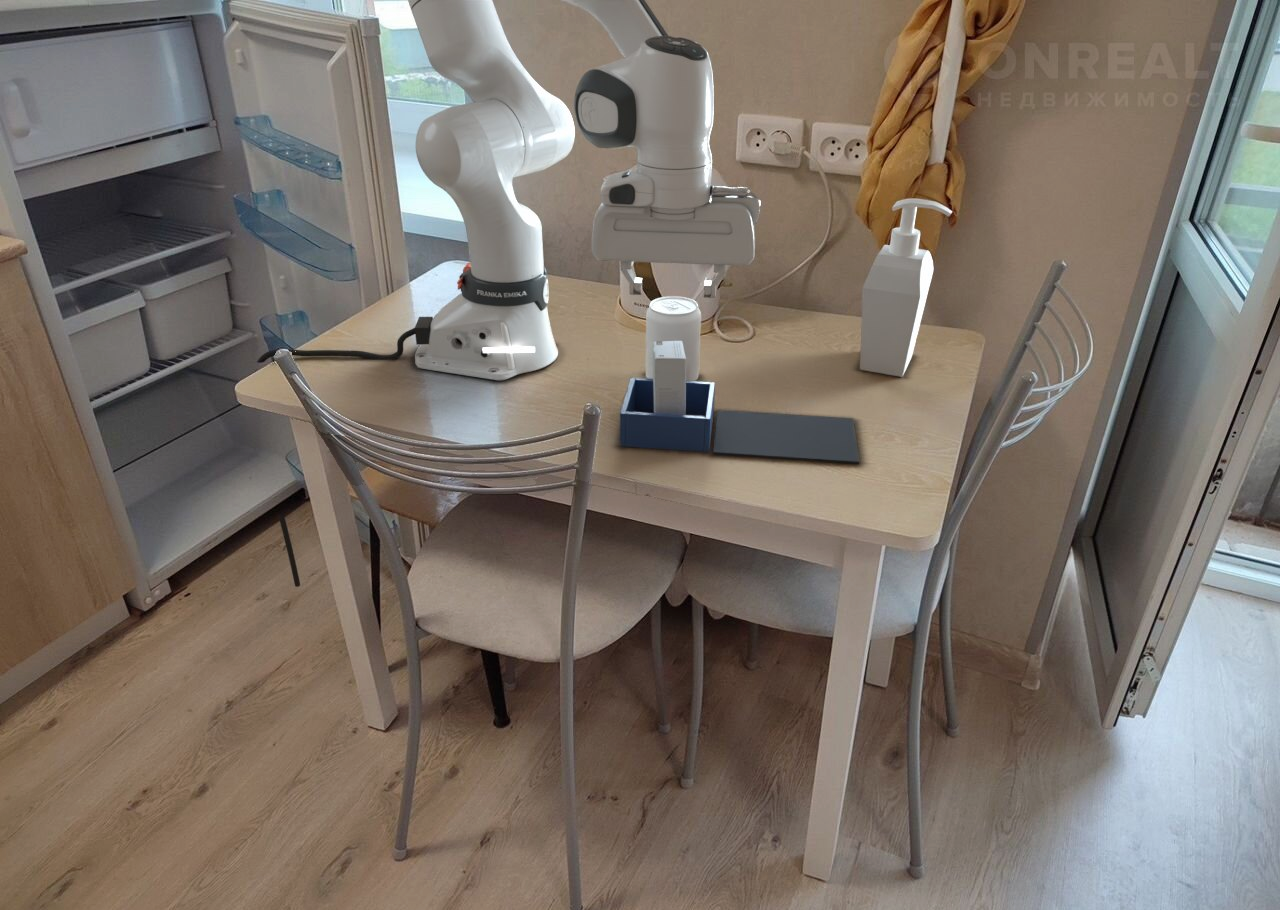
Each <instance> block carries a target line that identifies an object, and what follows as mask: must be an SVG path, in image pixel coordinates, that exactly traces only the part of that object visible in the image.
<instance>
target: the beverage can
mask: <svg viewBox="0 0 1280 910" xmlns="http://www.w3.org/2000/svg"><path fill="white" fill-rule="evenodd" d="M701 312H702V311H701V309H699V304H698V302H697V301H696V300H694V299H692V298H689V297H685V296H680V295H667V296H661V297H657V298H655V299H653V300H651V301H650V302H649V307H648V308H647V310H646V313H645V378H647V379H653V342H659V341H682V342H683V347H684V352H685V357H686V381H698V379H699V377H700V354H701V353H700V352H701V329H702V328H701V327H702V313H701Z"/></svg>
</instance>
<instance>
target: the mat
mask: <svg viewBox="0 0 1280 910" xmlns="http://www.w3.org/2000/svg"><path fill="white" fill-rule="evenodd" d="M714 431H715V432H714V438H713V439H714V441H713V448H712V449H713V450H712V455H714V456H728V457H729V456H730V457H744V458H760V459H774V460H775V459H776V460H790V461H804V462H805V461H806V462H816V463H817V462H819V463H832V464H833V463H834V464H847V465H848V464H849V465H860V457H859V451H858V449H859V448H858V444H857V437H856V436H857V435H856V430H855V424H854V418H852V417H837V416H836V417H835V416H824V415H823V416H822V415H804V414H790V413H789V414H788V413H772V412H756V411H743V410H725V409H724V410H723V409H717V414H716V423H715V430H714Z"/></svg>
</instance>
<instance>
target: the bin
mask: <svg viewBox="0 0 1280 910" xmlns="http://www.w3.org/2000/svg"><path fill="white" fill-rule="evenodd" d="M715 392H716V382H712V381H711V382H710V381H698V380H696V381H686V415H674V414H658V413H654V391H653V379H647V377H630V380H629V383H628V385H627V389H626V393H625V395H624V399H623V403H622V406H621V409H620V413H619V440H620V441H619V442H620V443H619V446H620V447H627V448H640V449H656V450H670V451H671V450H673V451H688V452H699V453H700V452H702V453H703V452H704V453H710V446H711V440H712V439H711V438H712V432H713V431H712V430H713V421H714V413H715V412H714V411H715V394H716V393H715Z"/></svg>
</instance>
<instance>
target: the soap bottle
mask: <svg viewBox="0 0 1280 910" xmlns="http://www.w3.org/2000/svg"><path fill="white" fill-rule="evenodd" d="M918 208H922V209H932V210H935V211H937V212H940V213H942V214H943V215H945V216H947V217H950V216H951V215H952V213H953V210H951V209H950V208H949V207H947V206H945V205H944V204H942V203H939V202H938V201H934V200H930V199H923V198H916V197H914V198H913V197H911V198H903V199H900V200H897V201H895V203H894V204H893V206H891V210H892V212H895V211H897V210H899V209H900V210H901V215H900V216H901V217H900V221H899V222H900V223H899V226H898V227H894V228H892V229H891V235H890V240H889V241H890V242H889V245H888V244H884V245H883V246H882V247H881V249H880V251H878V253H877V255H876V257H875V259H874V262H873V264H872V266H871V268H870V270H869V272H868V274H867V276H866V279H865V281H864V284H863V286H862V294H861V295H862V296H861V297H862V299H861V326H860V328H861V329H860V351H859V352H860V353H859V354H860V355H859V370H861V371H867V372H871V373H877V374H884V375H888V376H889V375H890V376H894V377H900V378H903V377H904V374H905V372H906V371H907V368H908V366H909V364H910V361H911V360H912V358H913V354H914V350H915V346H916V342H917V338H918V334H919V330H920V326H921V321H922V318H923V315H924V314H923V313H924V310H925V307H926V302H927V297H928V293H929V290H930V286H931V282H932V278H933V273H934V261H933V257H932V254H931V252H930V251H929V250H928V249H921V248H919V246H920V238H921V231H920V230H919V229H917V228H915V222H916V216H917V212H918V211H917V210H918Z"/></svg>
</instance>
